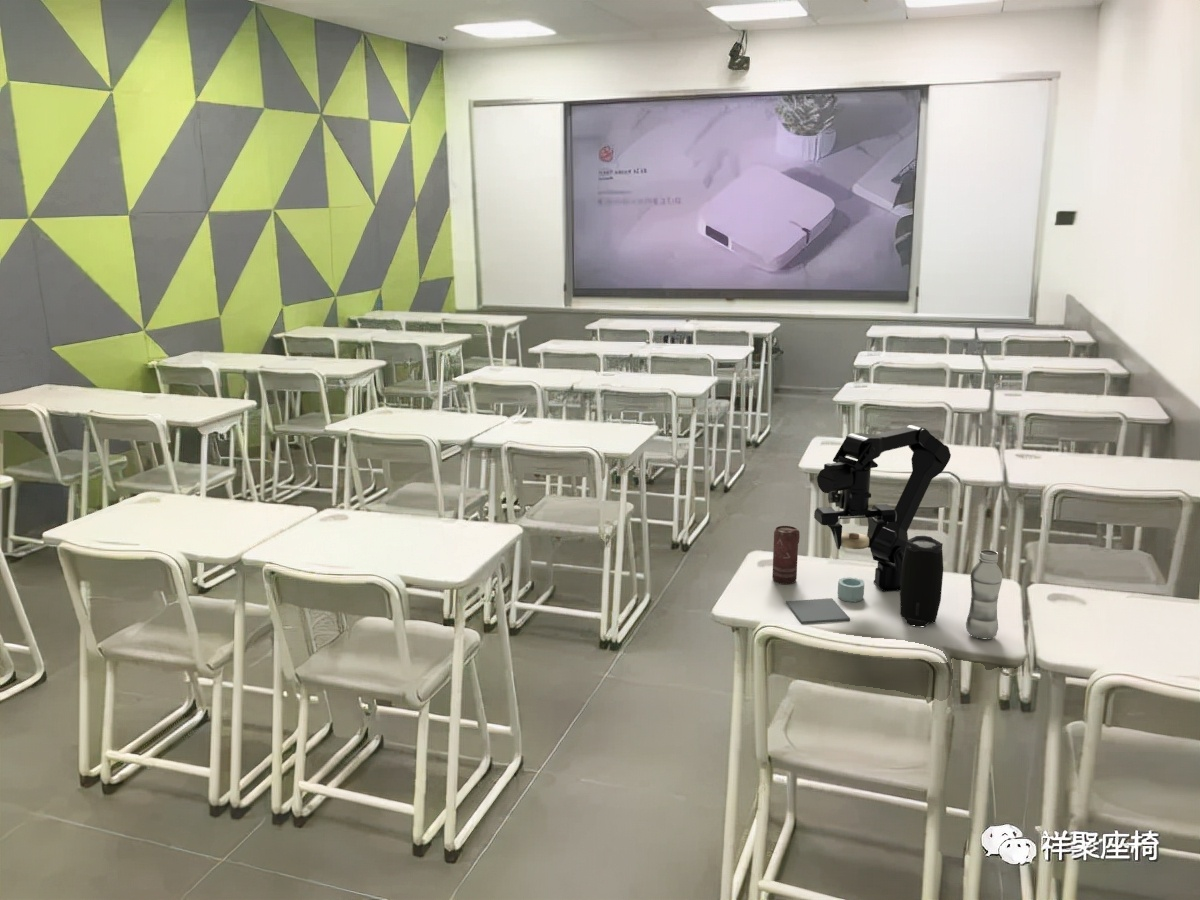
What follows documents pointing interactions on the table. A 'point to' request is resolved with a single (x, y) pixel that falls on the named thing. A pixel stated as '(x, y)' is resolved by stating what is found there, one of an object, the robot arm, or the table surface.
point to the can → (785, 554)
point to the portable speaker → (921, 580)
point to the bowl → (850, 589)
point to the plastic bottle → (984, 596)
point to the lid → (854, 541)
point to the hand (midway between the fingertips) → (853, 548)
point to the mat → (817, 611)
